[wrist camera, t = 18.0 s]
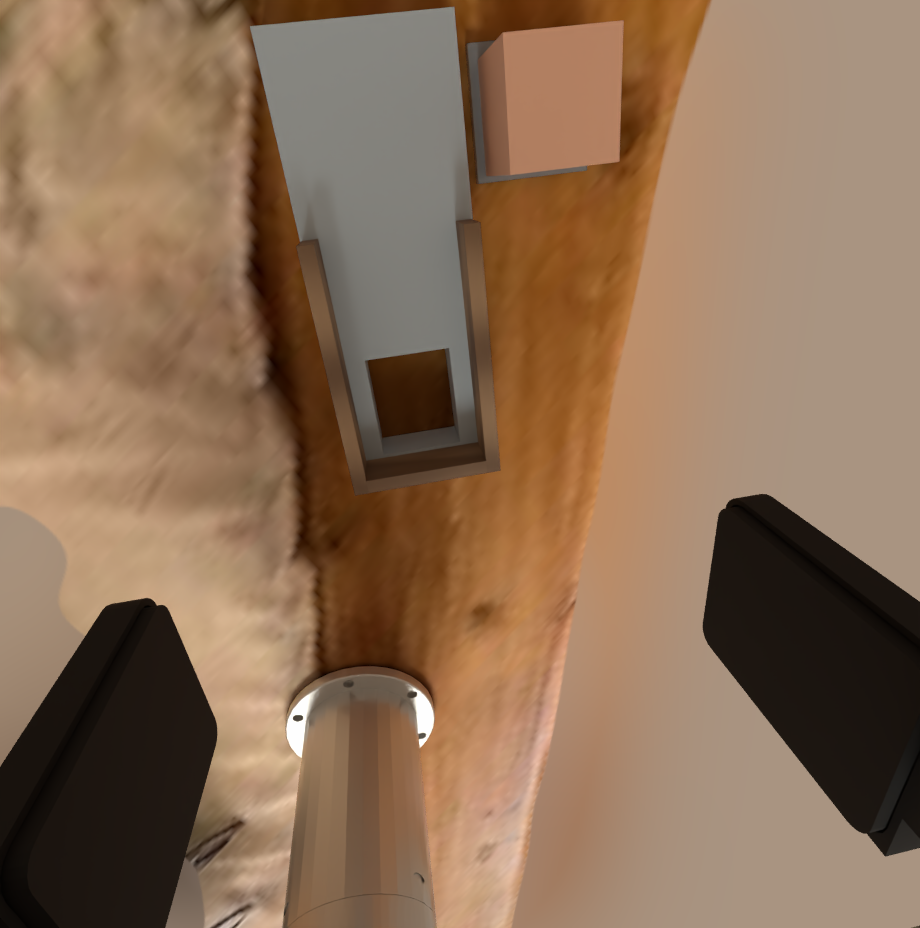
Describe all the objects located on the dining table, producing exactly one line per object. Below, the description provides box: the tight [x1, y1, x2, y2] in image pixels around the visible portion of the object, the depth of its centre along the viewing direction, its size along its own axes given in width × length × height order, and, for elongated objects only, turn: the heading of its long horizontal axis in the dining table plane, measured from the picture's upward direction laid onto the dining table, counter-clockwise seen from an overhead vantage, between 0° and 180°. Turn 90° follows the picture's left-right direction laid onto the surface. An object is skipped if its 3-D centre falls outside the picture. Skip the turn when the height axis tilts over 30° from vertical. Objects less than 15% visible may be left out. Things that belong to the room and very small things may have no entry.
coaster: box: [465, 41, 587, 184], centre depth 28 cm, size 6×6×1 cm
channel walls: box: [296, 219, 500, 495], centre depth 29 cm, size 14×9×3 cm, turn 6°
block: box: [478, 20, 624, 176], centre depth 25 cm, size 5×5×6 cm
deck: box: [250, 7, 478, 461], centre depth 29 cm, size 22×9×2 cm, turn 6°
